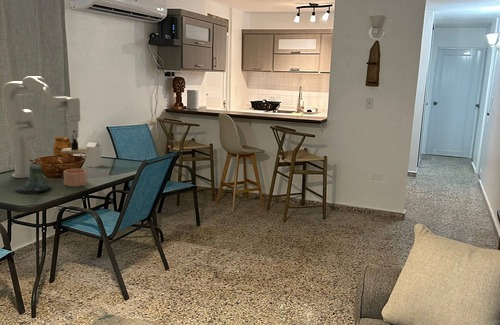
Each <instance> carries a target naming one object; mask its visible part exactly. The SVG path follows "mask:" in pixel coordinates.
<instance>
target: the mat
mask: <svg viewBox="0 0 500 325" xmlns="http://www.w3.org/2000/svg"><path fill="white" fill-rule="evenodd" d="M106 177H107V178H108V177H109V178H110V177H111V176H110V174H109V172H108V171H107V170H105V171H89V172H88V171H87V179H89V178H90V179H92V178H106Z"/></svg>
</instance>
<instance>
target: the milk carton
mask: <svg viewBox="0 0 500 325" xmlns="http://www.w3.org/2000/svg"><path fill="white" fill-rule="evenodd" d="M101 146H102V145H101V144H100V143H99V142H98V140H92V139H89V141H88V143H87V144H86V146H85V148H86V149H88V152H86V153H85V154H86V167H89V168H98V167H101V166H102V153H101V152H102V150H101V149H102V148H101Z"/></svg>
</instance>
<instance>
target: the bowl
mask: <svg viewBox="0 0 500 325" xmlns="http://www.w3.org/2000/svg"><path fill="white" fill-rule="evenodd" d="M87 172H88V171H87V169H84V168H70V169H65V170H63V184H64V186H66V185H67V186H66V187H81V185H82V186H85V185H87V183H88V178H87Z"/></svg>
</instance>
